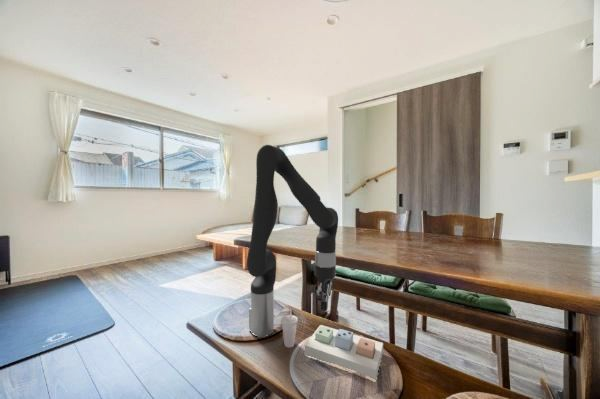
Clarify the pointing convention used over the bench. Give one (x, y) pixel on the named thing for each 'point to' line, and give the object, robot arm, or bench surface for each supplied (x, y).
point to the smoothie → (289, 329)
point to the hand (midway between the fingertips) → (324, 309)
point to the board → (345, 354)
